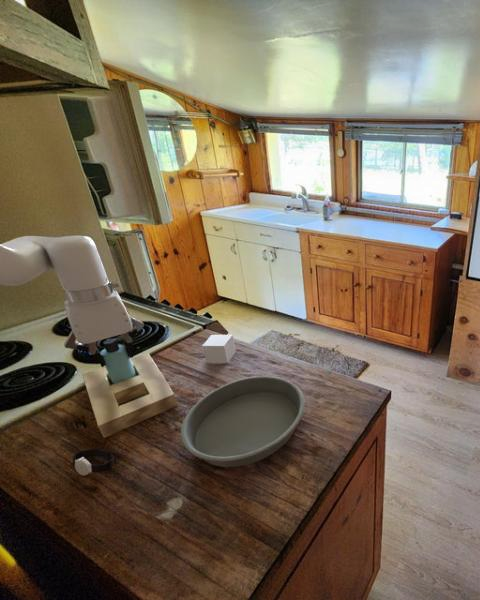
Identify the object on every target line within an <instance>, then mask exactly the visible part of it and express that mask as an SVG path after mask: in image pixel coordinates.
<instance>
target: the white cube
mask: <svg viewBox="0 0 480 600" xmlns="http://www.w3.org/2000/svg"><path fill="white" fill-rule="evenodd" d="M201 348H202V352H203V355H204V360H205V363H206V364H229V363H230V361H231V360H232V359H233V357H234V355H235V354H236V352H237V350H236V345H235V340H234V335H233V334H211V335H210V336H209V337H208V338H207V339H206V341H205V342H204V343H203V344H202V345H201Z"/></svg>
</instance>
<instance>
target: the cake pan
mask: <svg viewBox="0 0 480 600" xmlns="http://www.w3.org/2000/svg"><path fill="white" fill-rule="evenodd" d="M305 405H306V403H305V397H304V394H303V392H302V391H301V389H300V388H299V387H298V386H297V384H295V383H293V382H291V381H289V380H287V379H285V378H281V377H278V376H270V375H269V376H268V375H260V376H251V377H244V378H240V379H237V380H235V381H230V382H228V383H225V384H223V385H222V386H219V387H217V388H215V389H214V390H212V391H211V392H209V393H207V394H206V395H205V396H203V397H201V399H199V400H198V401H197V402H196V403H195V404H194V405H193V406H192V407H191V408H190V409H189V411H188V412H187V414H186V415H185V417H184V419H183V421H182V424H181V428H180V440H181V443H182V445H183V447H184V448H185V449H186V450H187V451H188V453H190V454H191V455H193V456H195V457H197V458H199V459H202V460H203V461H204V462H206V463H207V464H210V465H212V466H215V467H221V468H238V467H242V466H243V467H244V466H247V465H251V464H253V463H256V462H257V463H258V462H259V461H261V460H263V459H266V458H268V457H269V456H271V455H273V454H274V453H276V452H277V451H278V450H280V449H281V448H283V446H284V445H285V444H286V443H287V442H288V441H289V440H290V439H291V437H292V436H293V434H294V432H295V430H296V429H297V427H298V424H299V423H300V420H301V419H302V417H303V415H304V411H305Z"/></svg>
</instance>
